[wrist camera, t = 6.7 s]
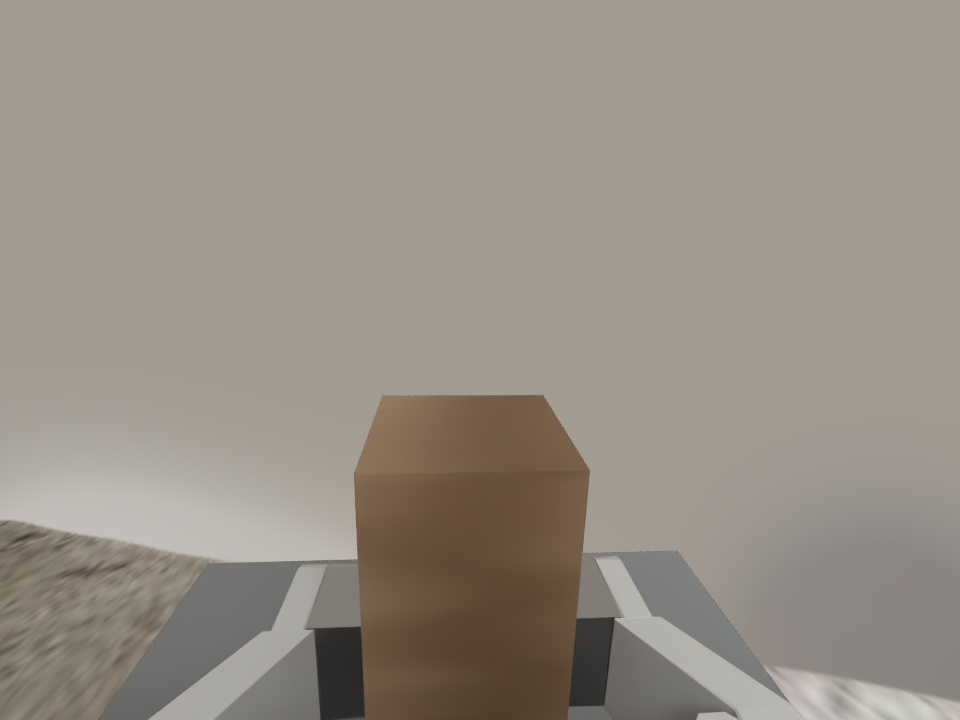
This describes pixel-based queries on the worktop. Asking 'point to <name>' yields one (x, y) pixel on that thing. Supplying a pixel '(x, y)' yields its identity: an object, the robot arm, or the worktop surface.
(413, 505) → the lid
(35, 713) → the worktop surface
